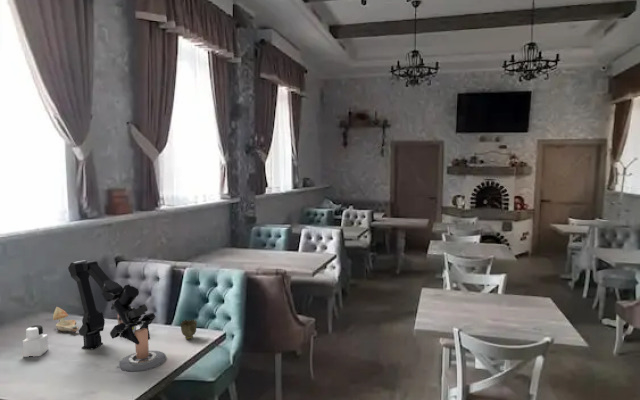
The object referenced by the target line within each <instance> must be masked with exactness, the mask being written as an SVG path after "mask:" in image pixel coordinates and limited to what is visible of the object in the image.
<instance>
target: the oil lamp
mask: <svg viewBox="0 0 640 400" xmlns="http://www.w3.org/2000/svg"><path fill="white" fill-rule="evenodd" d="M52 316H53V317H52V320H53V321H57V320H58V322H57V323H56V324H55V327H56V329H58V331H60V332H72V333H76V332H77V331H79V329H80V328H79V326H77V325H76V324H77V321H76V319H67V320H66V319H65V318H67V317H69V314H68V312H67V311H65V310H64V309H62V308H61V307H58V306H56V307H55V309H54V312H53V315H52Z"/></svg>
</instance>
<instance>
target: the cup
mask: <svg viewBox="0 0 640 400" xmlns="http://www.w3.org/2000/svg"><path fill="white" fill-rule="evenodd" d="M197 323H198V321H197V320H195V319H188V320H187V319H184V320H182V321H181V322H180V324H179V325H180V329H181V334H182V335H183V336H184V338H185V340H188V341H189V340H192V339H193V338H194V335H195V334H196V332H197V327H198V326H197Z"/></svg>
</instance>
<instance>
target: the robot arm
mask: <svg viewBox="0 0 640 400" xmlns="http://www.w3.org/2000/svg"><path fill="white" fill-rule="evenodd" d="M67 269H68V273H69V274H70V277H71V278H72V279H73V280H74V281H75V282H76V285H77V288H78V292H79V296H80V297H79V298H80V300H81V304H82V308H83V312H84V314H83V316H82V320H81V321H82V325H81V326H80V328H78V334H79V336H82V338H83V346H82V347H81V349H84V350H95V349H97V348H99V347H100V346H102V345H104V342H102V335H101V332H103V331H104V330H105V324H106V323H105V322H106V321H105V318H104V313H103V312H102V311H99V310H98V309H97V307H96V302H95V298H94V294H93V290H92V286H91V283H90V277H91V278H92V279H93V280H94V281H95V283H96V284H97V285H98V286H99V287H100V289H101V295H102V297H103V299H104V300H105V301H106V302H112V303H111V307H110V310H115V312H116V313H117V316H118V315H119V321H121V320H122V322H123V323H121V324H118V323H117V324H116V325H114V326H113V328H112V329H111V331H110V332H109V335H110V337H111V339H116V338H123V339H126V340H127V341H131V342H132V343H133V344H137V345H138V344H139V341H138V339H137V338H136V336H135V333H133V330H132V327H135V326H136V327H137V326H139V329H142V328H146V329H148V341H149V340H150V339H151V336H150V335H151V334H150V330H149V325H151V324H152V323H153V321H154V320H155V318H156V317H157V316H156V315H155V313H154V312H149V313H146V312H147V311H148V307H147V305H146V304H145V303H144V304H143V303H142V304H141V305H139V307H138V308H135V307H133V308H132V306H131V305H132V304H133V303H134V301H136V299H137V297H138V295H139V294H140V293H139V292H140V291H139V289H138V288H136V287H135V286H132V285H131V284H125V285H124V286H122V285H121V284H120V283H119V282H117V281H113V280H111V278H110V277H109V276H108V275H107V273H106V272H105V271H104V270H103V269H102V268H101V267H100V265H99V263H98V261H97V260H90V261H88V260H87V259H82V260H79V261H73V262H70V263H69V266H68V268H67ZM113 301H114V302H113ZM142 315H143V317H142ZM141 317H142V318H141ZM119 332H120V333H121V335H120V333H119Z"/></svg>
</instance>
